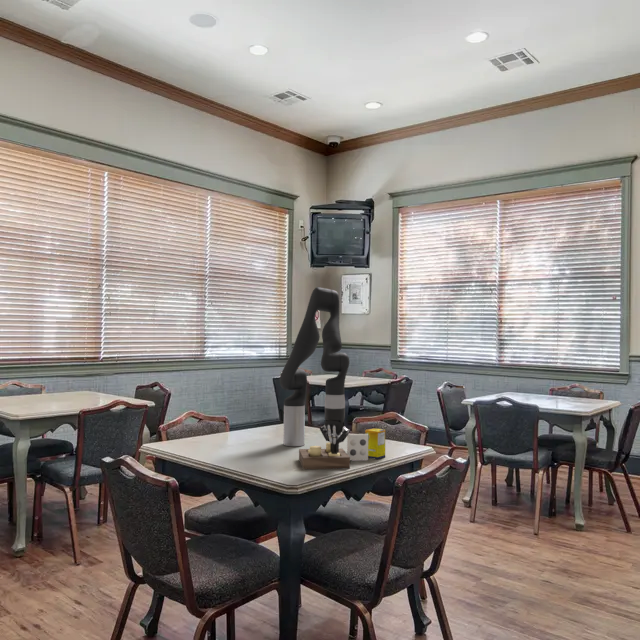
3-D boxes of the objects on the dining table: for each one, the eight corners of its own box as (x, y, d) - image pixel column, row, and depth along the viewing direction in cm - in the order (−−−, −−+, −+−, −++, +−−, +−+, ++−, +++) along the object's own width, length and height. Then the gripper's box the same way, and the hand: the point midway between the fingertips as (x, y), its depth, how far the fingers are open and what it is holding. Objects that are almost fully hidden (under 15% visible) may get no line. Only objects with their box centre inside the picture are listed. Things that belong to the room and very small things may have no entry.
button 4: (327, 461, 225) (327, 452, 225) (338, 460, 226) (339, 452, 226) (329, 463, 221) (329, 454, 221) (340, 463, 222) (340, 454, 222)
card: (347, 460, 233) (347, 434, 234) (367, 459, 234) (367, 433, 235) (347, 460, 233) (347, 434, 233) (368, 460, 234) (368, 434, 234)
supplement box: (373, 455, 244) (373, 427, 244) (385, 457, 240) (385, 429, 240) (364, 457, 239) (364, 429, 239) (377, 459, 235) (377, 431, 236)
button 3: (325, 450, 232) (325, 442, 232) (336, 450, 233) (336, 442, 233) (326, 452, 228) (326, 444, 228) (337, 452, 229) (337, 444, 229)
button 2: (309, 454, 224) (309, 445, 225) (320, 454, 225) (320, 445, 225) (310, 456, 220) (310, 448, 220) (321, 456, 221) (321, 447, 221)
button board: (299, 459, 234) (299, 449, 234) (342, 458, 236) (342, 448, 236) (303, 469, 217) (303, 458, 217) (349, 468, 219) (349, 457, 219)
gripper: (355, 407, 223) (355, 454, 222) (326, 404, 231) (326, 449, 230) (343, 409, 217) (343, 457, 216) (314, 406, 225) (314, 452, 225)
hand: (334, 453), depth 223 cm, fingers closed
